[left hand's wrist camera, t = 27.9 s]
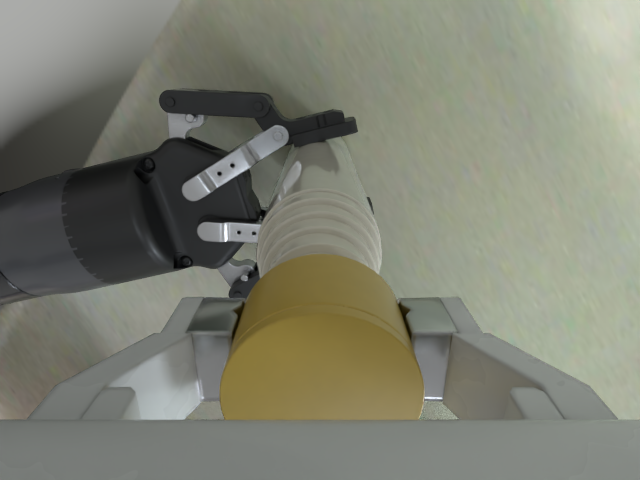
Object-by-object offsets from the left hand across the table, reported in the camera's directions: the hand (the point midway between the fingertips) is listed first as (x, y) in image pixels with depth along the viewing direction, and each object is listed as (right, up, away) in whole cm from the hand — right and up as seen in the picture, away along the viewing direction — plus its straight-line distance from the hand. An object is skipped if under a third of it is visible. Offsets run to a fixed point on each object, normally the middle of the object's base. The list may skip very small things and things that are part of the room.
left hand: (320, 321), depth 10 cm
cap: (0, -1, -2) cm, 2 cm away
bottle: (0, +8, +20) cm, 22 cm away
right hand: (+2, +6, +14) cm, 16 cm away
